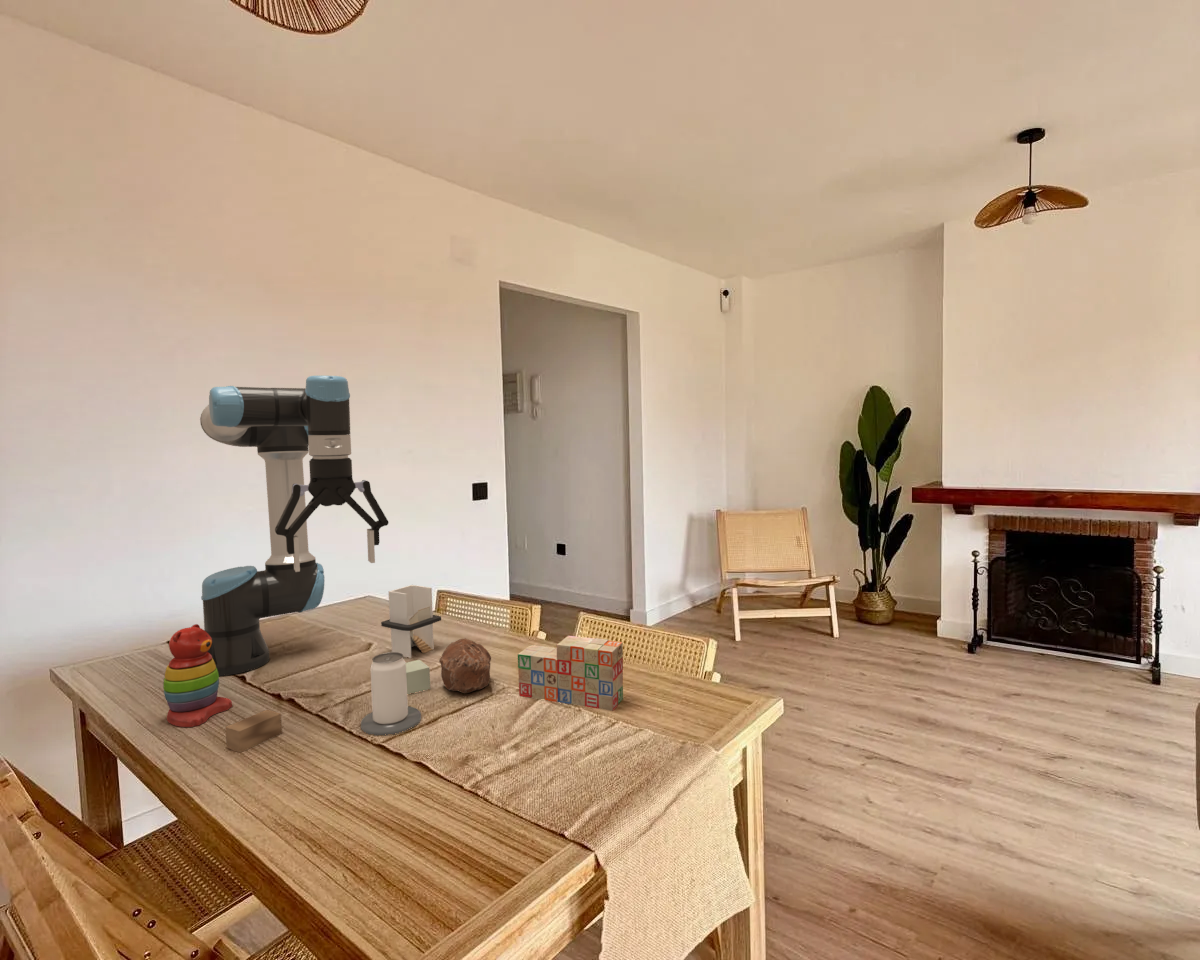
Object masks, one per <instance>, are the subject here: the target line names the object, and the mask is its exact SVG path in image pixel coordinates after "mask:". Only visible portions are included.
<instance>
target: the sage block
mask: <svg viewBox="0 0 1200 960" xmlns="http://www.w3.org/2000/svg"><path fill="white" fill-rule="evenodd" d="M405 663H406V678H407V694H410V693H414V694H416V693H415V692H418V693H420V692H419V691H421V692H424V691H423V690H425V691H428V689H429V690H431V674H430V672H431V669H430V666H429V665H427V664H426V663H425V662H423V661H422V660H420V659H417V660H411V661H408V662H405ZM410 695H411V694H410Z"/></svg>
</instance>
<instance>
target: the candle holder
mask: <svg viewBox="0 0 1200 960" xmlns="http://www.w3.org/2000/svg"><path fill="white" fill-rule="evenodd" d="M432 590H433V589H432V587H428V586H422V585H417V584H416V585H415V584H411V585H407V586H406V585H405V586H403V587H399V588H396V589H393V590H389V591H388V611H389V619H386V620H384V621H381V622H380V624H381V625H380V626H381V627H383V628H388V629H390V636H391V637H390V640H391V652H398V653H401V654H403V658H407V657H409V658H408V659H412V647H417V648H418V649H419V651H421V653H423V654H426V653H428V652H431V651H433V650H435V649H434V648H435V646H434V627H433V626H434V625H433V624H436V623H438V622H441V621H442V616H441V615H437V614H434V612H433V591H432Z"/></svg>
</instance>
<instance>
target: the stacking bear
mask: <svg viewBox="0 0 1200 960" xmlns="http://www.w3.org/2000/svg"><path fill="white" fill-rule="evenodd" d="M211 644H212V638H211V637H210V635H209V634H208V633H207V632H206V631H205V630H204V628H201V627H200V625H199V624H197V623H196V624H193V625H192V626H191V627H183V628H181V629H179V630H177V631H176V632H175V633H173V635H172V636H171V637H170V640H169V643H168V648H169V651H170V653H171V656H173V658H172V659H171V660H170V661H169V663H168V664H167V666H166V668H165V672H164V679H163V686H162V687H163V694H164V695H163V696H164V698H165V700H166V702H167V706H168V708H169V710H167V711H168V712H167V713H166V720H167V722H168V723H169V724H170V725H173V726H176V727H179V728H180V727H181V728H193V727H198V726H200V725H202V724H204V723H206V722H207V721H208V719H209V718H210V717H212V716H214V715H216V714H219V713H222V712H226V711H228V710H229V709H231V708H232V707H233V702H232V700H231V698H227V697H223V696H218V691H219V686H220V685H219V684H220V680H219V679H220V676H219V674H218V670H217V668H216V665H215V662H214V660H213V658H212V655H211V654H210V653H208V650H209V649H210V647H211Z"/></svg>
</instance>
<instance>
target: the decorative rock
mask: <svg viewBox="0 0 1200 960" xmlns="http://www.w3.org/2000/svg"><path fill="white" fill-rule="evenodd" d="M491 661H492V657H491V654H490V653H489V651H488V650H487V649H486V648H485V647H484V645H481V643H480V644H479V643H477V642H475V641H473V640H470V639H468V638H466V637H464V638H459V639H457V640H455V641H453V642H451V643H449V644H448V645H447V647H446V648H445V650H444V651H443V653H442V654H441V656H440V657H439V663H440V666H441V667H440V668H441V674H440V677H441V681H442V682H443V683H442V684H443V685H444V687H445V688H446V689H447V690H448V691H454V692H460V693H463V694H468V693H469V694H470V693H471V692H475V691H480V690H481V689H484V687H488V685H489V683H490V680H491V675H490V674H491V673H490V672H491V664H492V663H491Z"/></svg>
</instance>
